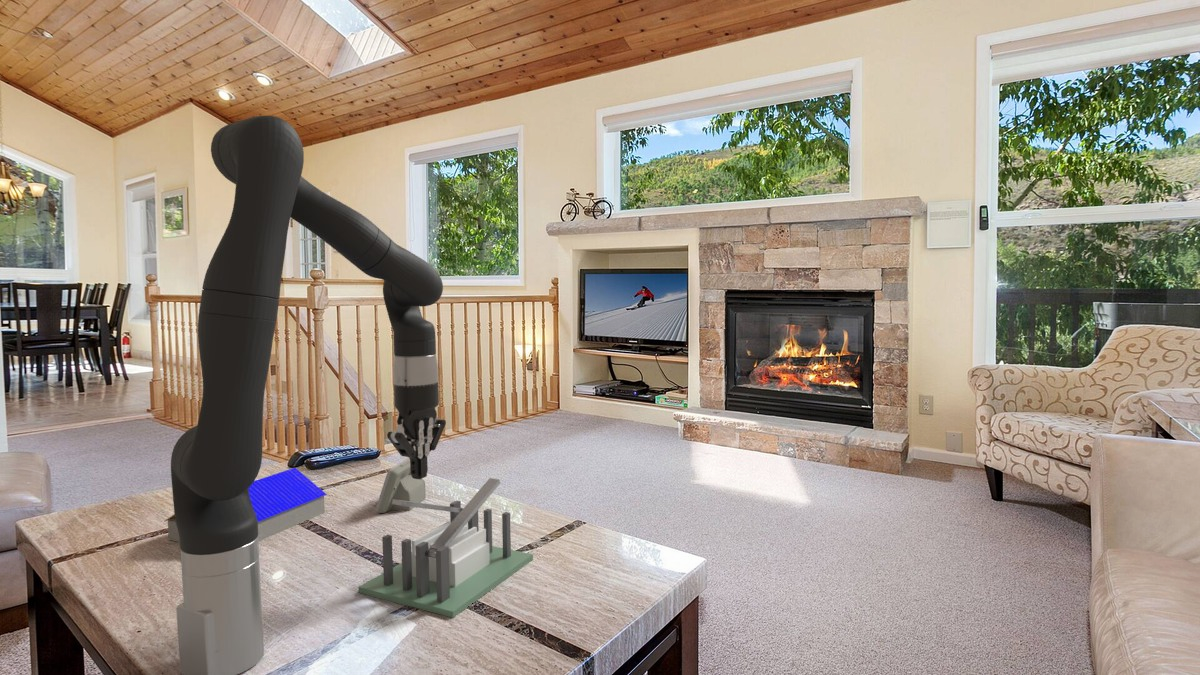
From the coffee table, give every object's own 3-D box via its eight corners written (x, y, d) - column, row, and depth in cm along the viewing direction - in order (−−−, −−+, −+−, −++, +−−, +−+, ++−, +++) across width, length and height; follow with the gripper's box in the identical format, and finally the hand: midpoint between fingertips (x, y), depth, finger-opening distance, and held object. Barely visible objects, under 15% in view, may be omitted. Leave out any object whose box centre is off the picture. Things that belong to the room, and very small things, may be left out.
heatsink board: (453, 617, 102) (451, 558, 101) (358, 592, 110) (356, 537, 110) (532, 559, 123) (532, 510, 123) (448, 541, 132) (447, 495, 131)
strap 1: (402, 506, 109) (403, 500, 109) (391, 504, 110) (392, 498, 110) (470, 514, 126) (470, 509, 127) (460, 512, 127) (461, 507, 128)
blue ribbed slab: (327, 514, 150) (326, 471, 149) (231, 556, 126) (228, 506, 126) (267, 504, 156) (265, 463, 156) (165, 542, 133) (162, 495, 132)
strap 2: (437, 559, 105) (435, 555, 105) (425, 557, 106) (424, 553, 106) (500, 483, 121) (499, 479, 121) (490, 481, 122) (489, 477, 122)
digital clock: (408, 492, 164) (407, 450, 164) (438, 495, 161) (437, 453, 160) (364, 513, 149) (362, 467, 148) (396, 517, 146) (395, 471, 145)
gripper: (406, 387, 105) (410, 491, 107) (457, 376, 117) (460, 470, 119) (371, 384, 109) (375, 485, 110) (424, 374, 121) (427, 465, 122)
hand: (419, 477), depth 114 cm, fingers closed
